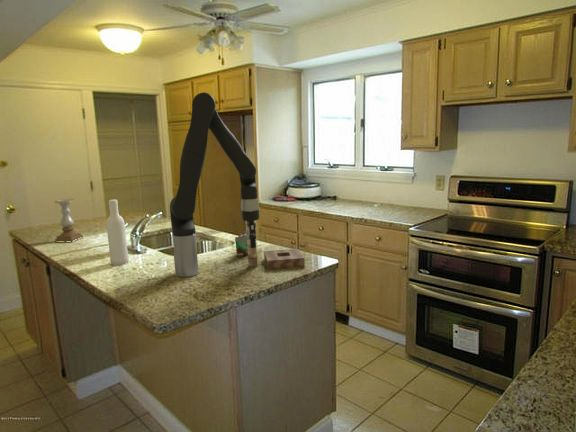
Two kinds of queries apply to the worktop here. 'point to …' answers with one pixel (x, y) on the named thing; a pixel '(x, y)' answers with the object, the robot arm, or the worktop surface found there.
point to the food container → (242, 244)
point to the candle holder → (67, 222)
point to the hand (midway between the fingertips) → (252, 245)
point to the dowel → (252, 255)
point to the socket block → (284, 259)
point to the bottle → (116, 236)
